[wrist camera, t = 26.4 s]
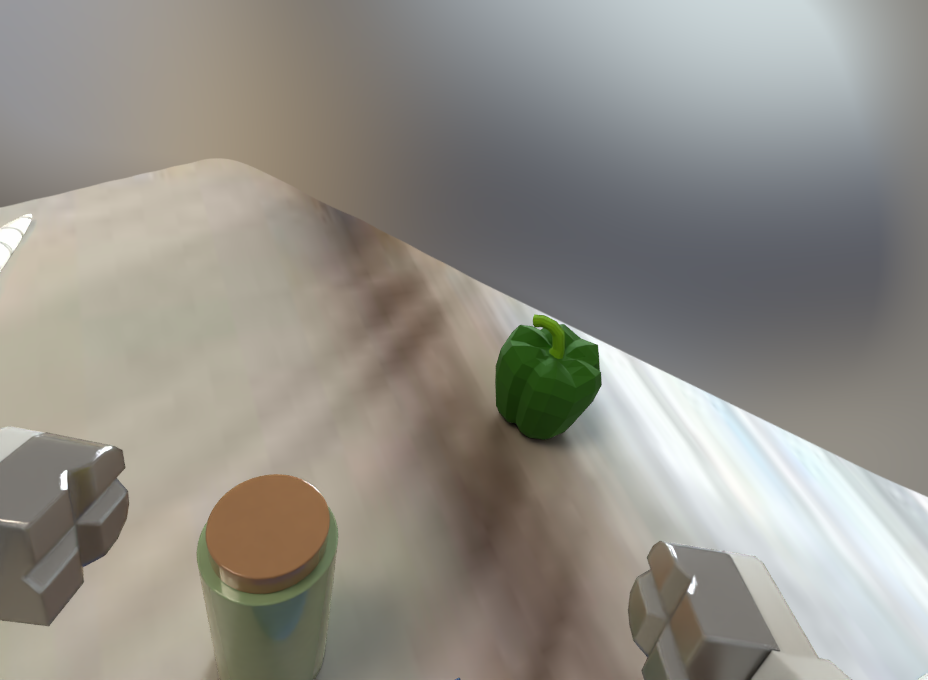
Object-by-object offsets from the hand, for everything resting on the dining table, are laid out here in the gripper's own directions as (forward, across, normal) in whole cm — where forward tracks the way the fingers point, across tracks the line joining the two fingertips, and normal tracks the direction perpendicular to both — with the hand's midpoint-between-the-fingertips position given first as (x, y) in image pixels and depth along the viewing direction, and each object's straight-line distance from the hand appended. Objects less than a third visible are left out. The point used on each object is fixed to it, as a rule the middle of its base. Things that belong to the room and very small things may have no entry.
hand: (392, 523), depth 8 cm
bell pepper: (+33, -10, +19) cm, 39 cm away
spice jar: (+12, +5, +23) cm, 26 cm away
